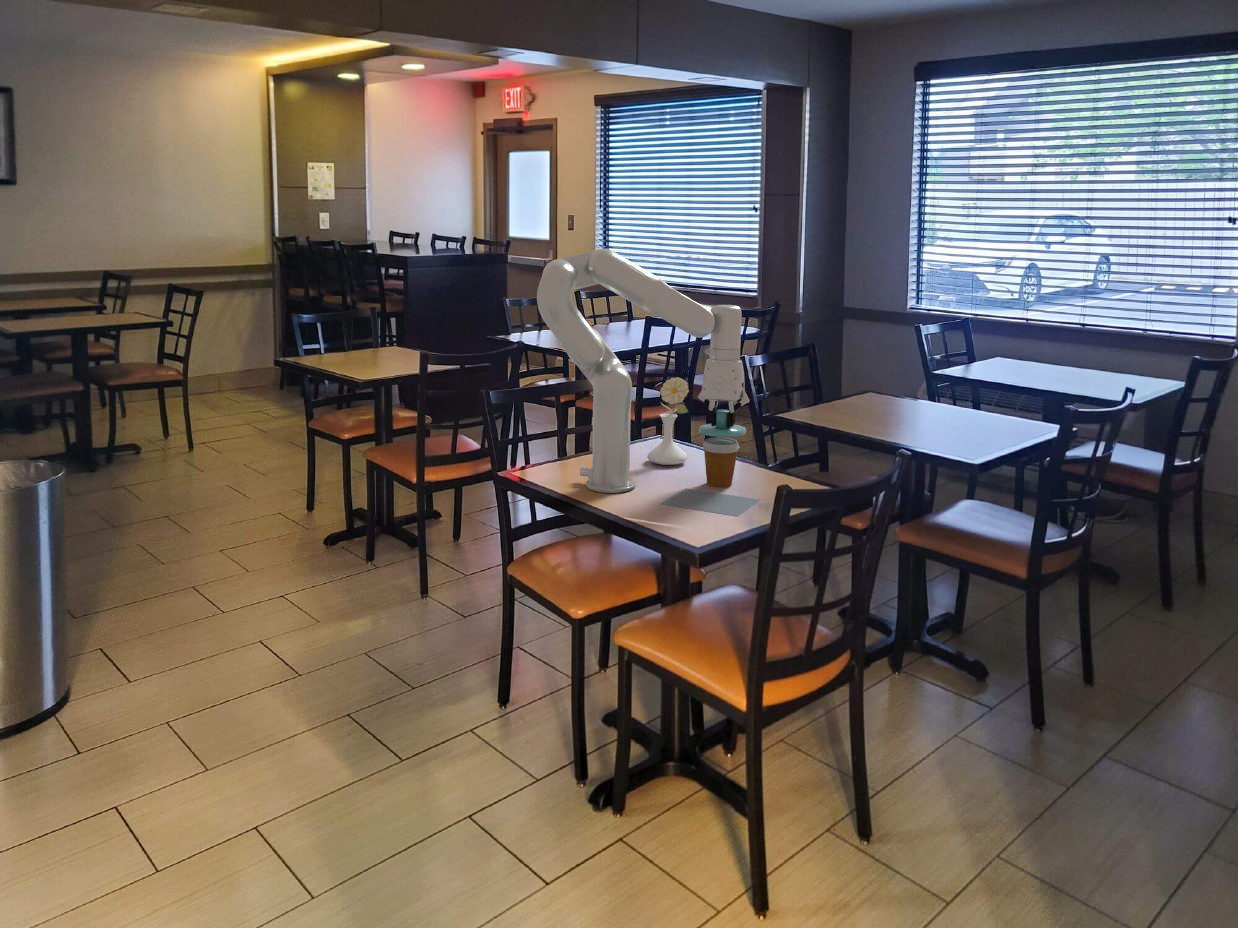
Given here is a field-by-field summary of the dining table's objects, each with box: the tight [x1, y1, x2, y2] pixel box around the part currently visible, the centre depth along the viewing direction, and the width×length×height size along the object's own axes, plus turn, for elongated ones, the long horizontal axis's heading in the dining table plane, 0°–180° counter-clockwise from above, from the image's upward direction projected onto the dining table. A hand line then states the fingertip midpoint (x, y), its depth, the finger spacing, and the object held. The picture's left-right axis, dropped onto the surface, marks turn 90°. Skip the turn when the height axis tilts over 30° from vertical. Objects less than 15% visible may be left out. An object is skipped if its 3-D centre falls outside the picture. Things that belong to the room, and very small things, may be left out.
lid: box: [698, 409, 747, 438], centre depth 254 cm, size 12×12×6 cm
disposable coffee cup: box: [702, 437, 740, 489], centre depth 256 cm, size 10×10×12 cm
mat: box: [659, 487, 761, 518], centre depth 242 cm, size 20×16×1 cm
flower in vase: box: [646, 376, 690, 466], centre depth 277 cm, size 13×11×25 cm
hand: (722, 425), depth 254 cm, fingers closed on lid, 3 cm apart
